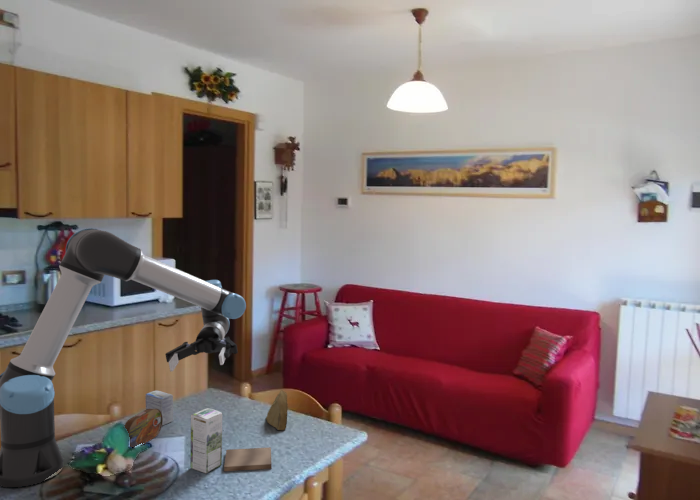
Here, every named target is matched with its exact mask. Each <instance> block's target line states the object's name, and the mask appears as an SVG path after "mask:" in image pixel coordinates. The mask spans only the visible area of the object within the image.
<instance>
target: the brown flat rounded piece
mask: <svg viewBox="0 0 700 500" xmlns="http://www.w3.org/2000/svg"><path fill="white" fill-rule="evenodd" d="M162 422H163V418H162V413H161V411H160V410H159V409H146V408H145V410H143V411H141V412H139V413H138V414H136V415H134V416H132V417H130V418H129V419H128V420H127V421H126V422H125V423H124V425H123V427H124V426H125V428H126V429H127V431H128V433H129V437H130V446H131V447H135V446H137V445H139V444H141V443H142V444H143V443H145V444H147V443H148V441H149V442H150V441H151V440H154V439H155V438H156V437H158V436H159V434H160V432H161V431H162V427H163V425H162ZM146 442H147V443H146Z"/></svg>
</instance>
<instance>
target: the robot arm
mask: <svg viewBox="0 0 700 500" xmlns="http://www.w3.org/2000/svg"><path fill="white" fill-rule="evenodd" d="M58 267H59V270H60V273H61V275H60V276H59V278H58V280H57V283H55V286H54V289H53V290H52V292H51V294H50V296H49V297H48V300H47V302H46V304H45V306H44V308H43V310H42V312H41V313H40V314H39V315H40V316H39V318H38V319H37V322H36V324H35V325H34V328H33V329H32V331H31V334H30V335H29V337H28V339H27V341H26V343H25V345H24V346H23V349H22V351H21V353H20V354H19V355H18V356H16V357H13V358H10V361H9V362H8V364H7V366H6V368H5V370H4V371H3V372H2V373H1V374H0V487H1V486H3V487H2V488H7V487H18V488H22V487H21V486H26V487H29V486H28V485H31V486H34V485H33V484H35V485H38V484H37V483H39V484H41V482H42V481H44V480H45V479H46V478H48V477H49V476H51V475H52V474H54V473H55V472H57V471H58V470H59V469H61V468H62V467H63V468H64V457H63V455H62V452H61V450H60V448H59V444H58V443H57V441H56V433H55V430H56V429H55V428H56V427H55V395H56V394H55V389H54V384H53V380H54V378H55V375H56V372H55V369H54V365H55V362H56V361H57V359H58V357H59V354H60V352H61V350H62V348H63V346H64V345H65V343H66V341H67V338H68V336H69V335H70V332H71V330H72V329H73V326H74V325H75V323H76V321H77V319H78V316H79V314H80V312H81V311H82V308H83V306H84V304H85V302H86V300H87V298H88V296H89V294H90V292H91V290H92V289H93V287H94V286H96V285H99V284H101V283H102V281H103V279H104V277H105V276H108V277H112V278H114V279H118V280H122V281H124V282H128V281H130V280H132V281H134V282H136V283H140V284H141V285H144V286H146V287H150V288H152V289H154V290H157V291H158V292H162V293H164V294H167V295H169V296H172V297H174V298H176V299H179V300H182V301H185V302H188V303H190V304H193V305H195V306H198V307H200V309H201V317H202V324H203V326H202V328H201V329H200V331H199V333H198V334H197V335H196V339H195V341H193V342H191V343H189V341H184V342H183V343H181V344H180V345H179V346H177V347H175V348H173V349H171V350H170V351H168V352H166V353H165V359H166V360H165V361H166V363H168V367H169V371H170V372H174V370H175V369H176V368H177V366H178V365H179V362H180V360H184V359H186V358H188V357H190V356H192V355H194V356H196V355H199V354H203V353H204V354H212V353H219V354H218V359H219V365H220V366H223V365H224V363H225V361H226V359H228V358H230V356H232V353H233V354H235V355H236V354H238V353H239V352H238V345H237V344H236V343H235V342H234V341H232V339H230V336H226V335H227V333H228V332H229V329H230V320H231V319H232V320H236V319H237V320H238V319H239V318H241V317H242V316H243V315H244V313H245V311H246V309H247V303H246V300H245V298H244V297H243V296H242V295H240V294H238V293H236V292H235V293H234V292H231V291H230V290H227V289H225V288H223V286H222V282H221V281H220V280H218V279H210V280H204V279H201V278H200V277H197V276H196V275H195V276H194V275H192V274H190V273H188V272H185V271H183V270H182V269H178V268H176V267H174V266H171V265H169V264H167V263H164V262H163V261H159V260H158V259H155V258H153V257H150V256H148V255H146V254H144V252H143V250H142V249H141V248H139V247H136V246H135V245H132V244H130V242H129V243H128V242H127V241H125V240H124V239H122V238H120V237H119V236H118V235H115V234H113V233H111V232H109V231H107V230H101V229H97V228H93V227H91V228H84V229H81V230H78V231H76V232H75V233H73V234H72V235H70V237H69V239H68V240H67V242H66V246H65V253H64V255H63V258H62V260H61V261H60V263H59V266H58ZM44 482H45V481H44ZM42 483H43V482H42Z"/></svg>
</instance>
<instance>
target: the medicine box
mask: <svg viewBox="0 0 700 500" xmlns="http://www.w3.org/2000/svg"><path fill="white" fill-rule="evenodd" d="M146 409H159V410H160V411H161V413H162V418H163V422H162V426H165V425H167V424H170V423H172V422H174V395H173V394H171V393H167V392H164V391H161V390H152V391H150V392H148V393H145V410H146Z"/></svg>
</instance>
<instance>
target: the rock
mask: <svg viewBox="0 0 700 500" xmlns="http://www.w3.org/2000/svg"><path fill="white" fill-rule="evenodd" d="M288 407H289V406H288V394H287V392H285V391H284V390H280V391H279V393H278V394H277V395H276V397H275V399H274V400H273V403H272V404H271V406H270V408H269V409H268V412H267V414H266V418H265V420H266V423H268V424H269V425H270V426H272V427H273V428H275V429H277V430H278V431H285V430H286V428H287V423H288Z"/></svg>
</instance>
